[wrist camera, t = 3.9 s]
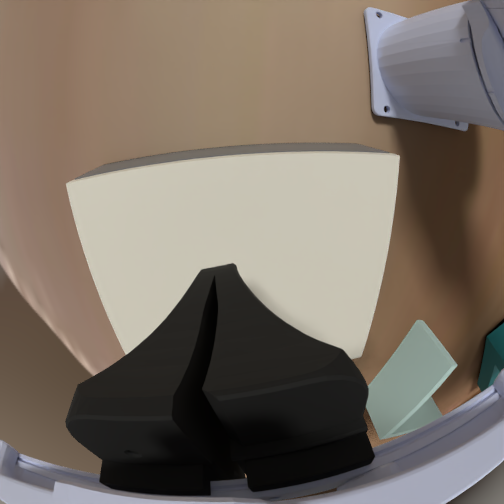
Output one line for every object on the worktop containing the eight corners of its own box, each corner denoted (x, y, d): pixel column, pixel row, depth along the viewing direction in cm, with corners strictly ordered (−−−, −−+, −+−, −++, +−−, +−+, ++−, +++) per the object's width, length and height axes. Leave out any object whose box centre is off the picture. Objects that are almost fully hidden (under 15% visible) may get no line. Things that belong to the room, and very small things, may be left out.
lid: (393, 153, 12) (399, 155, 12) (358, 351, 19) (361, 356, 19) (71, 180, 11) (65, 183, 11) (140, 375, 18) (139, 381, 17)
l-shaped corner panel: (419, 386, 32) (440, 423, 26) (358, 391, 30) (379, 439, 23) (467, 322, 28) (499, 359, 21) (413, 316, 25) (452, 365, 18)
